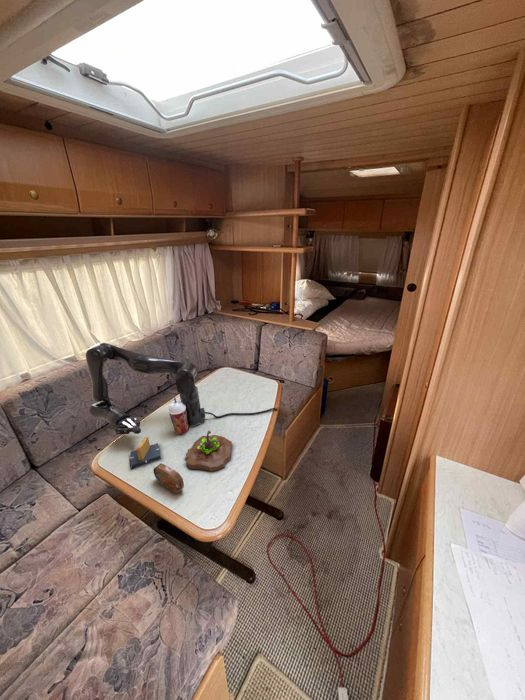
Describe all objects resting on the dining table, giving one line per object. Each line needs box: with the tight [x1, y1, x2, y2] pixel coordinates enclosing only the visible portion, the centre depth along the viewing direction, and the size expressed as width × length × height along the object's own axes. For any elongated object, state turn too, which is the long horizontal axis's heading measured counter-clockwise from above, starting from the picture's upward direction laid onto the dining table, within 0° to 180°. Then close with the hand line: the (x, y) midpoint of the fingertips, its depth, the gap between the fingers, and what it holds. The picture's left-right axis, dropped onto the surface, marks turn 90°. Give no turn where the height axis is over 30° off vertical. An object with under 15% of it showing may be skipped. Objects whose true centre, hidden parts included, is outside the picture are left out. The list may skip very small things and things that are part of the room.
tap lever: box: [135, 436, 151, 460], centre depth 121 cm, size 8×2×6 cm, turn 176°
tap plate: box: [129, 442, 162, 470], centre depth 123 cm, size 12×12×2 cm
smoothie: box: [167, 397, 189, 435], centre depth 135 cm, size 8×8×20 cm
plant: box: [185, 430, 233, 472], centre depth 122 cm, size 20×20×11 cm
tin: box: [153, 463, 185, 494], centre depth 108 cm, size 15×3×8 cm, turn 58°
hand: (139, 431), depth 125 cm, fingers closed
